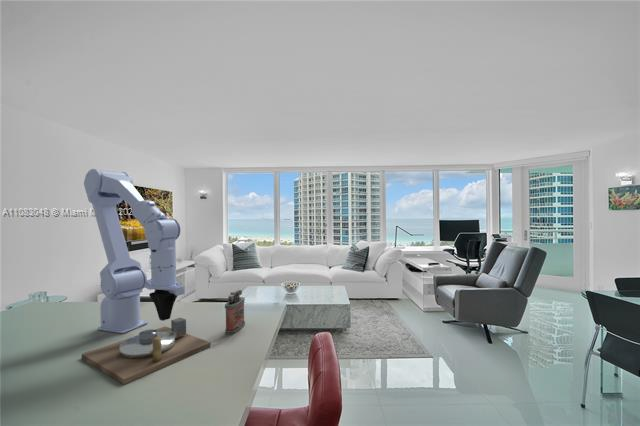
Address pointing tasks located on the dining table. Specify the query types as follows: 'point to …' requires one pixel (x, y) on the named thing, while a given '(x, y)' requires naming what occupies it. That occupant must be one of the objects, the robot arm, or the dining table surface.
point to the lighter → (234, 313)
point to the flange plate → (146, 349)
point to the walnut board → (138, 367)
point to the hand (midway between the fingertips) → (164, 319)
